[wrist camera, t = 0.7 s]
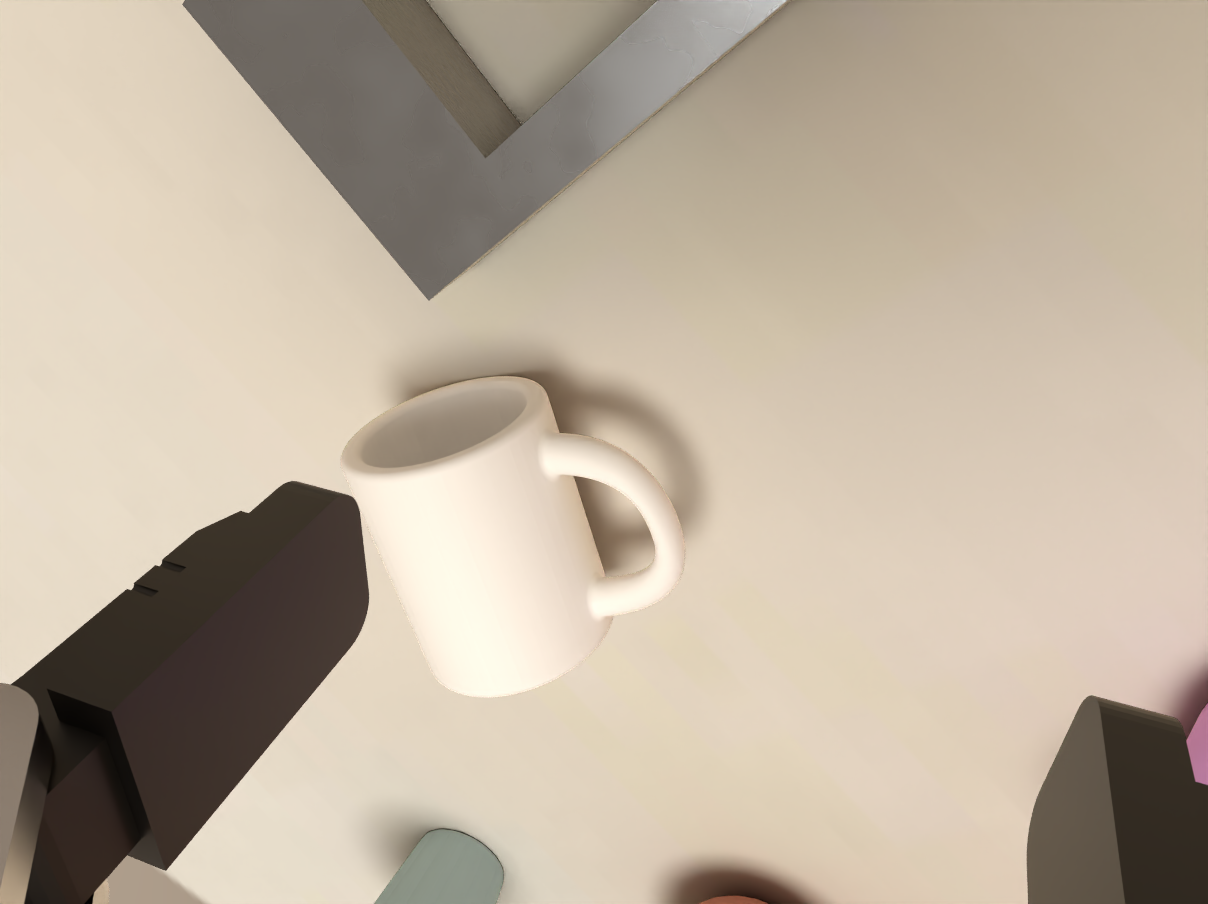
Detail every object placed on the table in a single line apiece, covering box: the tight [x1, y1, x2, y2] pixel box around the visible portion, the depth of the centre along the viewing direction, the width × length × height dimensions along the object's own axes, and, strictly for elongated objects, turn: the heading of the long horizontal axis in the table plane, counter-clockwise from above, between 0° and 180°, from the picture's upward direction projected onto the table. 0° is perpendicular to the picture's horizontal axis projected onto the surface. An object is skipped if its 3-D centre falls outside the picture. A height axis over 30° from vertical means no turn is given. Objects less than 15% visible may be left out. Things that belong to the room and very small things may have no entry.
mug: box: [341, 376, 685, 697], centre depth 36 cm, size 12×10×8 cm
